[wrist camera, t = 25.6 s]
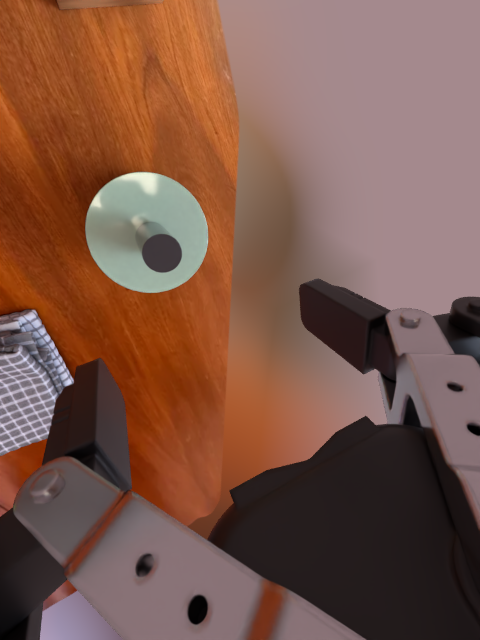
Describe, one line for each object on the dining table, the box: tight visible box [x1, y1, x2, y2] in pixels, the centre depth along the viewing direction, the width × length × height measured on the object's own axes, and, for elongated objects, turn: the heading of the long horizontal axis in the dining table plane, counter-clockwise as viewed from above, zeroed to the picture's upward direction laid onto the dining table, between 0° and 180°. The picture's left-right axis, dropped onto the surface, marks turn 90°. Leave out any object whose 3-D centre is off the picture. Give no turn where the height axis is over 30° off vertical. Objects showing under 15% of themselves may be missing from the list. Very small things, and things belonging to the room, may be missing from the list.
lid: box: [85, 172, 208, 293], centre depth 24 cm, size 11×11×7 cm
